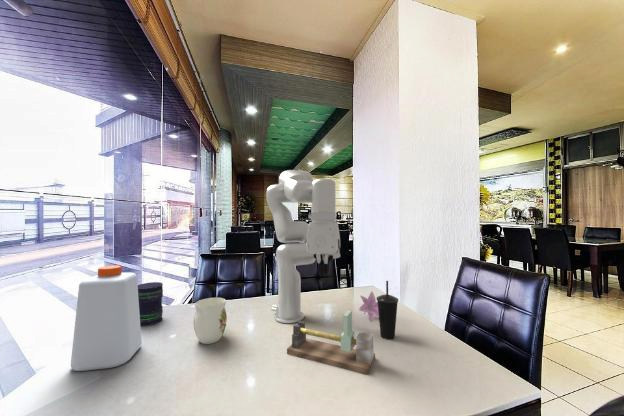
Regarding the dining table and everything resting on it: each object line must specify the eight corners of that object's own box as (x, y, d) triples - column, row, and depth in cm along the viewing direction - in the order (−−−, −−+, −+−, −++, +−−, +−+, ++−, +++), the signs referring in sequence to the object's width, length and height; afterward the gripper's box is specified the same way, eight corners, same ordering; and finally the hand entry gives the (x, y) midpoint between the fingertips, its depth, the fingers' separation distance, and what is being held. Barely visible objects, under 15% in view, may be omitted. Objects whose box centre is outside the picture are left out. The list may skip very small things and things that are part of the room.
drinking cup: (400, 342, 91) (399, 284, 91) (377, 340, 92) (376, 283, 93) (397, 332, 98) (396, 278, 99) (376, 331, 100) (375, 277, 100)
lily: (354, 323, 109) (363, 306, 106) (351, 303, 120) (359, 287, 117) (381, 331, 111) (390, 314, 107) (375, 310, 121) (384, 294, 118)
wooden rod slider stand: (286, 353, 84) (286, 326, 84) (300, 341, 92) (300, 316, 92) (368, 374, 73) (367, 343, 73) (375, 358, 81) (374, 330, 81)
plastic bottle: (145, 343, 91) (146, 261, 92) (124, 368, 76) (125, 270, 77) (95, 348, 88) (96, 263, 88) (62, 375, 73) (64, 273, 74)
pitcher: (232, 326, 104) (232, 291, 104) (220, 350, 86) (220, 307, 86) (203, 327, 103) (204, 292, 103) (185, 351, 85) (185, 308, 86)
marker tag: (340, 349, 79) (340, 314, 79) (345, 343, 83) (345, 309, 83) (350, 352, 77) (350, 316, 78) (354, 345, 81) (354, 311, 82)
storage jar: (129, 324, 107) (129, 287, 107) (151, 315, 116) (152, 281, 116) (145, 328, 103) (146, 289, 104) (168, 318, 112) (168, 283, 113)
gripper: (297, 217, 84) (297, 275, 84) (342, 218, 78) (342, 280, 77) (308, 217, 91) (308, 270, 91) (349, 217, 85) (350, 275, 84)
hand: (323, 275), depth 84 cm, fingers closed
